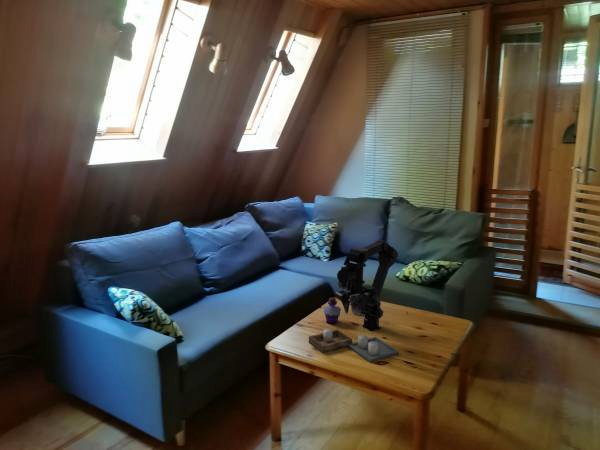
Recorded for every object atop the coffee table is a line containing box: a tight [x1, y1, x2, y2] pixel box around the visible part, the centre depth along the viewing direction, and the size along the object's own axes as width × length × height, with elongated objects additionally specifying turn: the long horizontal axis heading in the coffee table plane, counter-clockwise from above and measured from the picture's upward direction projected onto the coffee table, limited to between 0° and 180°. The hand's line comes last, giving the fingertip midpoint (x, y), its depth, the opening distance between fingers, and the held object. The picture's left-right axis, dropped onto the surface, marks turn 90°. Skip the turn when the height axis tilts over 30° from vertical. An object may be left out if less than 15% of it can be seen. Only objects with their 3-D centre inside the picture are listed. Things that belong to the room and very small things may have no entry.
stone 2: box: [357, 334, 369, 349], centre depth 195 cm, size 4×4×4 cm
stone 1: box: [322, 328, 333, 343], centre depth 200 cm, size 4×4×4 cm
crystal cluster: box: [349, 294, 365, 317], centre depth 234 cm, size 13×14×10 cm
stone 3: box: [368, 342, 378, 356], centre depth 189 cm, size 4×4×4 cm
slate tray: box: [347, 336, 400, 364], centre depth 194 cm, size 15×15×1 cm
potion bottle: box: [323, 297, 342, 325], centre depth 220 cm, size 9×9×12 cm
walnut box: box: [308, 329, 353, 354], centre depth 199 cm, size 15×11×3 cm
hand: (355, 311), depth 204 cm, fingers open, 9 cm apart
